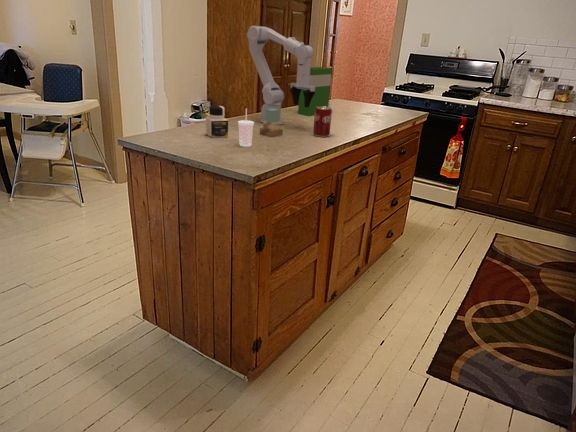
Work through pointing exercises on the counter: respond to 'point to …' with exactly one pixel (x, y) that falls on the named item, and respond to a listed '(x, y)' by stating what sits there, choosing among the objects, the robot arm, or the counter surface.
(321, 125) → the soda can
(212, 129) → the medicine bottle
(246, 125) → the beverage cup
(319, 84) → the hardback book
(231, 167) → the counter surface
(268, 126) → the maple cube
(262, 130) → the walnut slab
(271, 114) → the teal block
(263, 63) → the robot arm
